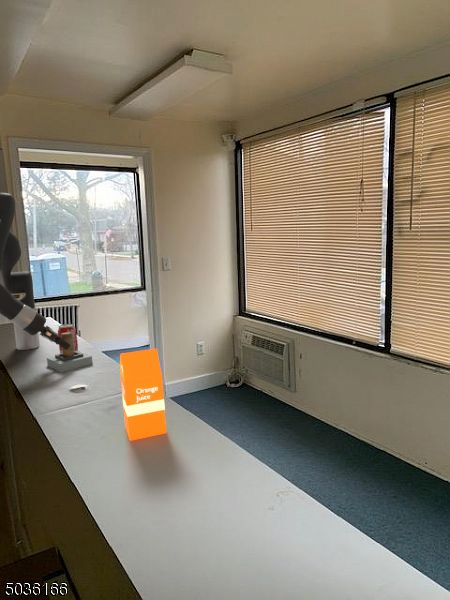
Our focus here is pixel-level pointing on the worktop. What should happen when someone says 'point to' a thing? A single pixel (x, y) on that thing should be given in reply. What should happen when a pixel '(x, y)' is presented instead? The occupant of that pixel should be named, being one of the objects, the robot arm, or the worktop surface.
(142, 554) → the worktop surface
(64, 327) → the soda can
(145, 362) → the orange juice
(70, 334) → the dowel
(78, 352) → the socket
